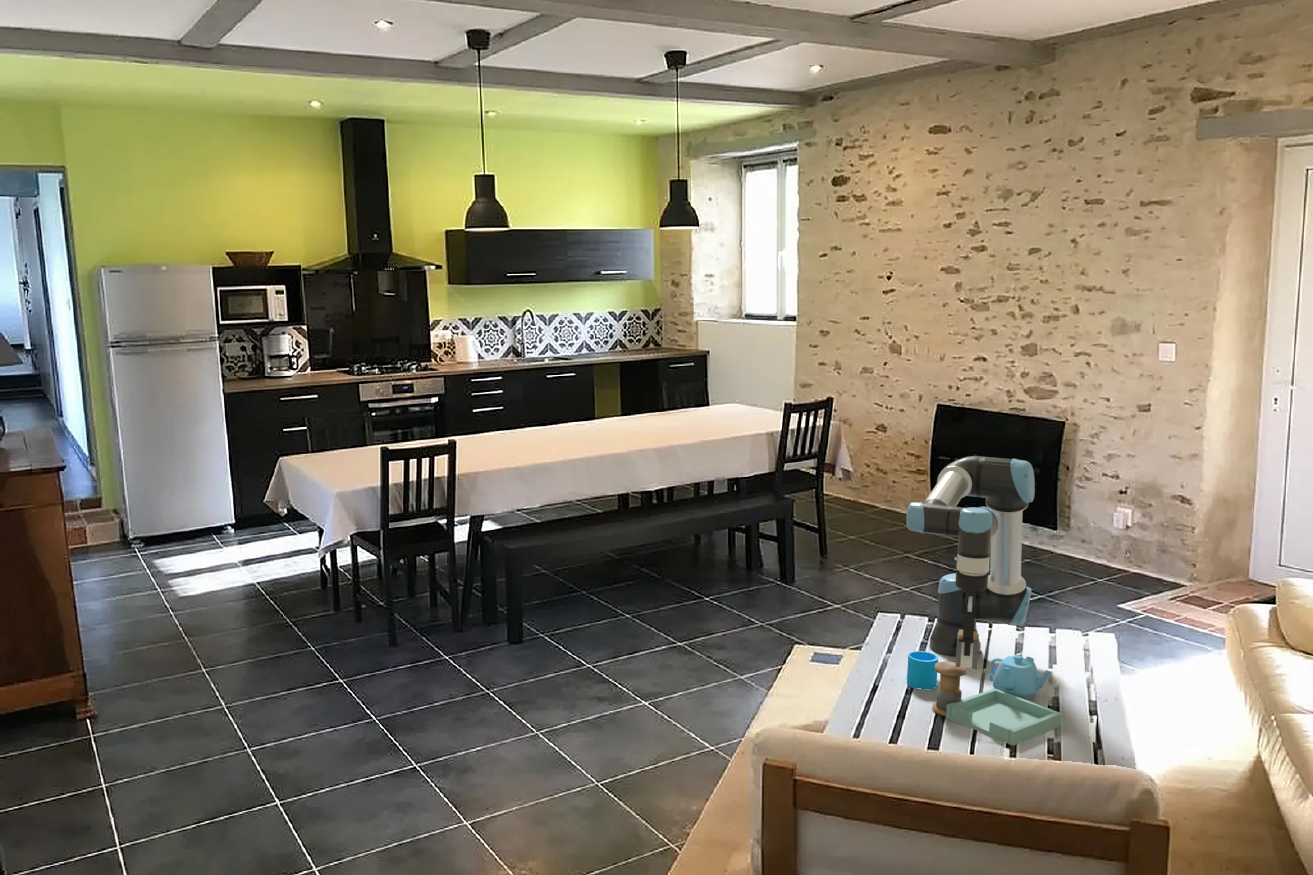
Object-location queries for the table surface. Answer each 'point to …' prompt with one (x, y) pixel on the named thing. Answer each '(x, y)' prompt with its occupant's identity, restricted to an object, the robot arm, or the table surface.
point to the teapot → (1017, 676)
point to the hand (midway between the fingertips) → (966, 663)
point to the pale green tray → (1004, 716)
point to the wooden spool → (948, 686)
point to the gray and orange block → (975, 649)
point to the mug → (922, 670)
